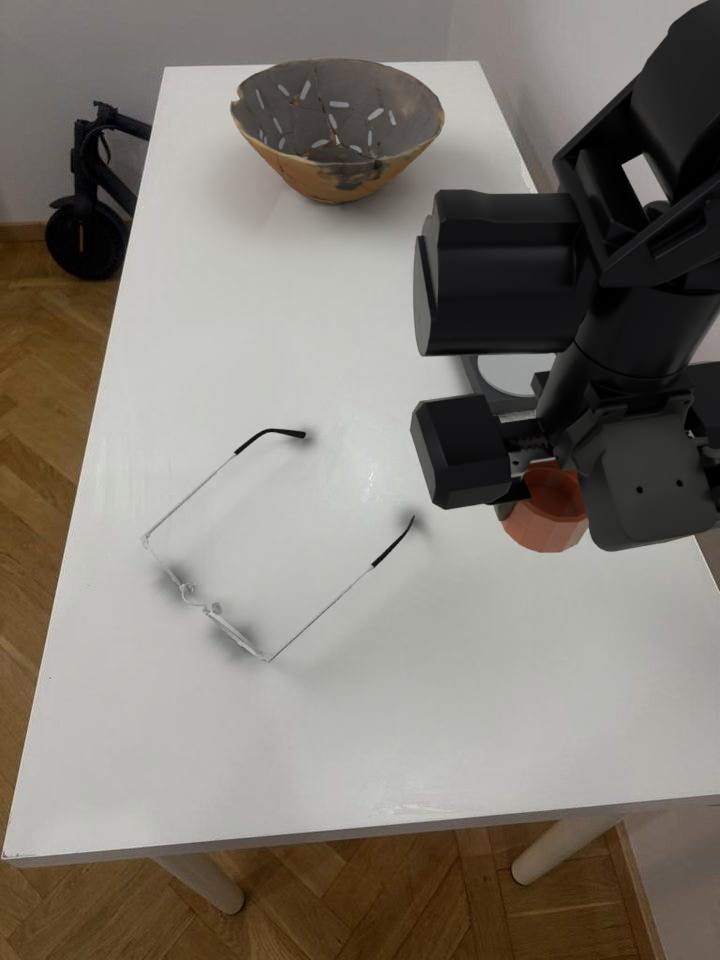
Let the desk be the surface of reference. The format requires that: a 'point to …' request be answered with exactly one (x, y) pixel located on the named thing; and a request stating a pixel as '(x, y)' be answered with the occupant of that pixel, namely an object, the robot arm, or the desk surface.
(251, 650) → the eyeglasses
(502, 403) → the scale
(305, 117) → the bowl
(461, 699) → the desk surface
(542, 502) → the terracotta cup
